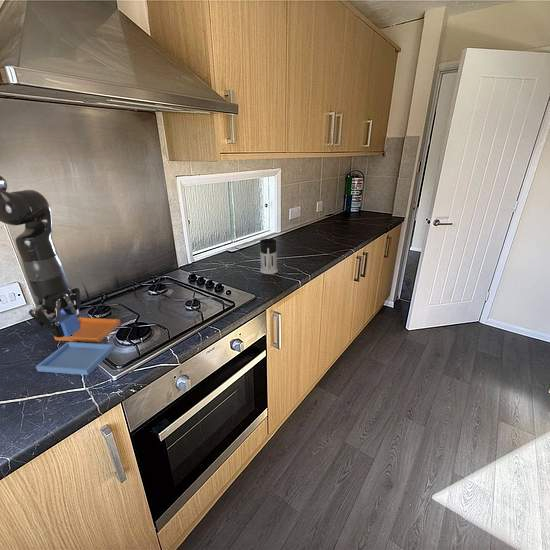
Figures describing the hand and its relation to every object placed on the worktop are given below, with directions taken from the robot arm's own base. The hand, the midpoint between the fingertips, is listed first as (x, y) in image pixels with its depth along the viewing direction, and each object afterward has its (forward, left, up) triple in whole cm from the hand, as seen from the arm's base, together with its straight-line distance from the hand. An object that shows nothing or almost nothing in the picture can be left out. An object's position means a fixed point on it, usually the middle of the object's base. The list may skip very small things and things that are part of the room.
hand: (67, 331), depth 80 cm
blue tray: (0, 0, -10) cm, 10 cm away
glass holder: (+45, +68, -10) cm, 82 cm away
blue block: (0, 0, 0) cm, 0 cm away
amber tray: (-7, +14, -10) cm, 18 cm away
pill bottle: (-22, +23, -10) cm, 33 cm away
